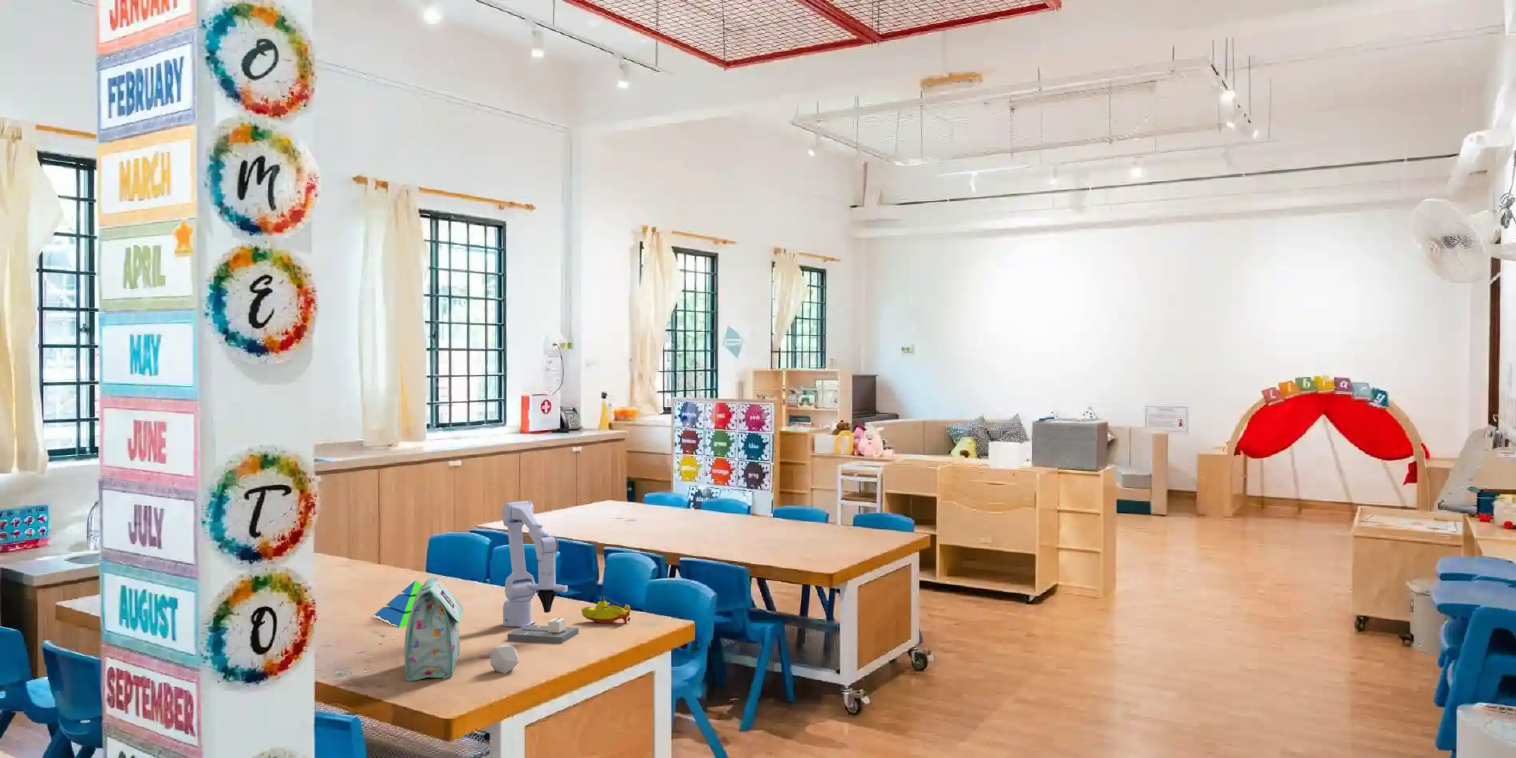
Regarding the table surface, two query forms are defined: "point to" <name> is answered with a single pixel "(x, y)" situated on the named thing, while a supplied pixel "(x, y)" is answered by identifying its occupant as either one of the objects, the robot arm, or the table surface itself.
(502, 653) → the die
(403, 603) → the pyramid toy
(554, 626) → the fader tab
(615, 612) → the toy boat
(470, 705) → the table surface
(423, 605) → the lunch bag
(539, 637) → the console board
